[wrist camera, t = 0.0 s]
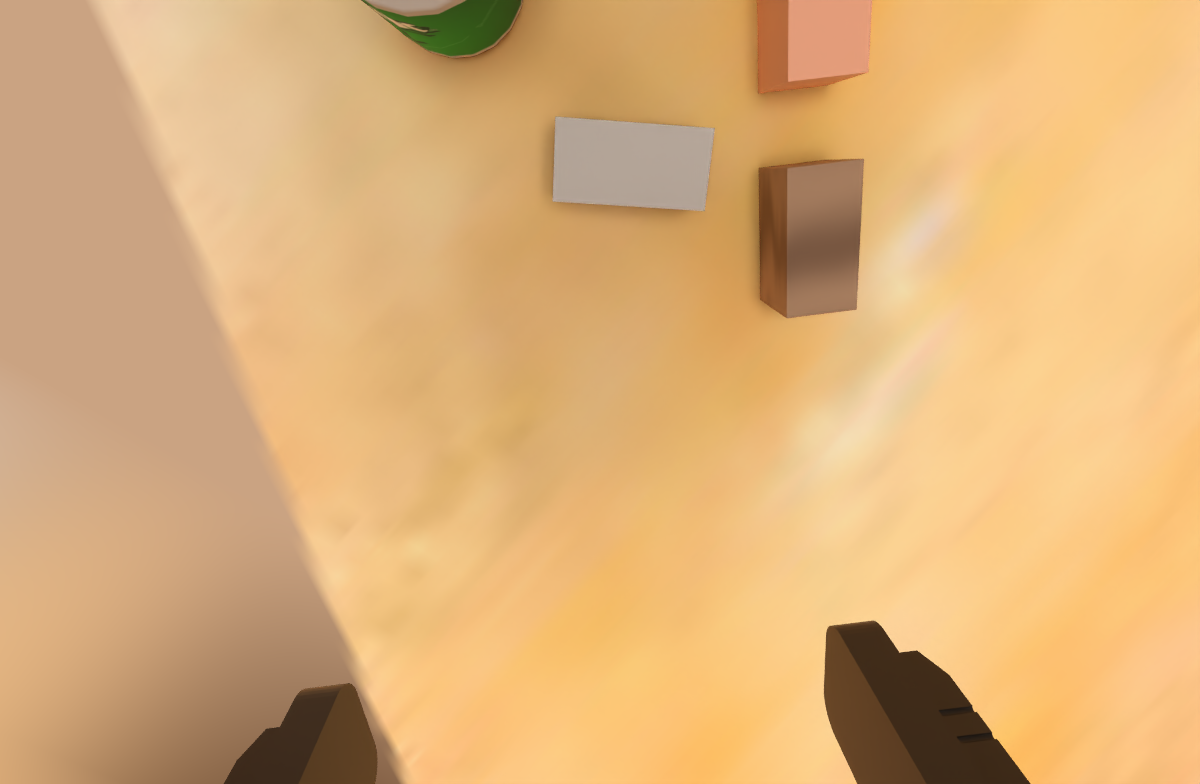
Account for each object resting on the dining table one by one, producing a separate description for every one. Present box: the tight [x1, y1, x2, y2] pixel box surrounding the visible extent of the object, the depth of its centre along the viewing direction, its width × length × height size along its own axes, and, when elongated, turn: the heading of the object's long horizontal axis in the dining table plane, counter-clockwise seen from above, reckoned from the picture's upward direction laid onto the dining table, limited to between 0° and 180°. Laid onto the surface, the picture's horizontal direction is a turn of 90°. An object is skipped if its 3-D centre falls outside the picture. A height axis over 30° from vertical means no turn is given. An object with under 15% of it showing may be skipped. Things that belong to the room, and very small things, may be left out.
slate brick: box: [553, 117, 715, 211], centre depth 32 cm, size 8×4×5 cm, turn 86°
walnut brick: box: [759, 159, 864, 318], centre depth 34 cm, size 8×4×5 cm, turn 6°
